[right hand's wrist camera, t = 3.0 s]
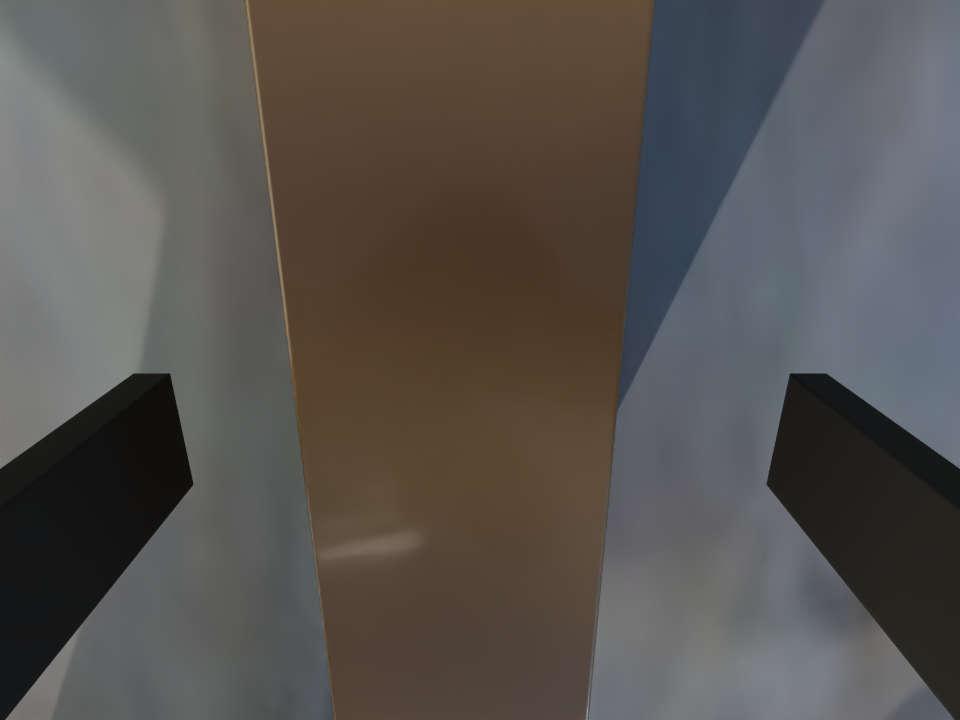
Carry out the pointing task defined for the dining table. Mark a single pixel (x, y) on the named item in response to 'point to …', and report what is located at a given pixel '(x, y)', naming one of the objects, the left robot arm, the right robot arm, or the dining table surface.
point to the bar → (455, 331)
